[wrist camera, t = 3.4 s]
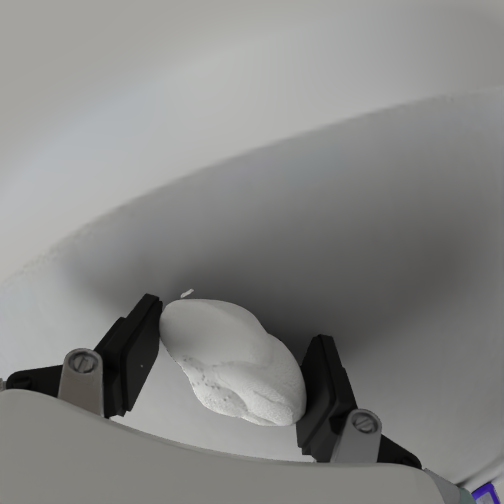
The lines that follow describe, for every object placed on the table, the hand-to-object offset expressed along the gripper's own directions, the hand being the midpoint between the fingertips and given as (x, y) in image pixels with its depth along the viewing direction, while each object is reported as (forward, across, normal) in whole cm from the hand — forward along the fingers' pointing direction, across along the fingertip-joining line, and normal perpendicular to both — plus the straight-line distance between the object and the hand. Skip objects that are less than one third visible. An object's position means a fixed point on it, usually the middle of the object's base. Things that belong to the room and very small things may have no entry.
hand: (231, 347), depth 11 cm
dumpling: (+1, 0, 0) cm, 1 cm away
